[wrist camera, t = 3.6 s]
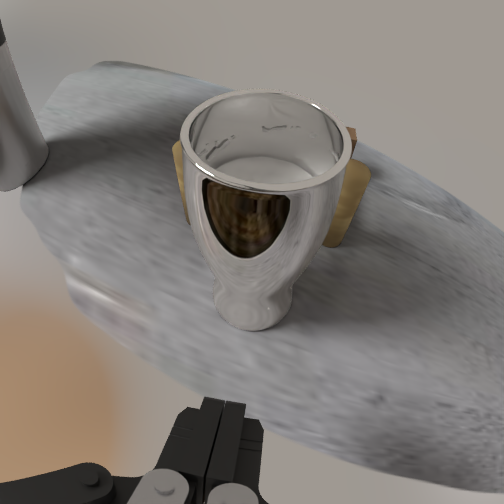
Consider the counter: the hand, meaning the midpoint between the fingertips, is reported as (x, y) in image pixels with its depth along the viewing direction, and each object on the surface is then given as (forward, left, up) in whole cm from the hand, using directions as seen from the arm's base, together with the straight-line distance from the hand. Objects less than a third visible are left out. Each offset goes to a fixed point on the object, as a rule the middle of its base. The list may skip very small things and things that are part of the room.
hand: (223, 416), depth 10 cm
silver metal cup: (0, +10, -10) cm, 14 cm away
